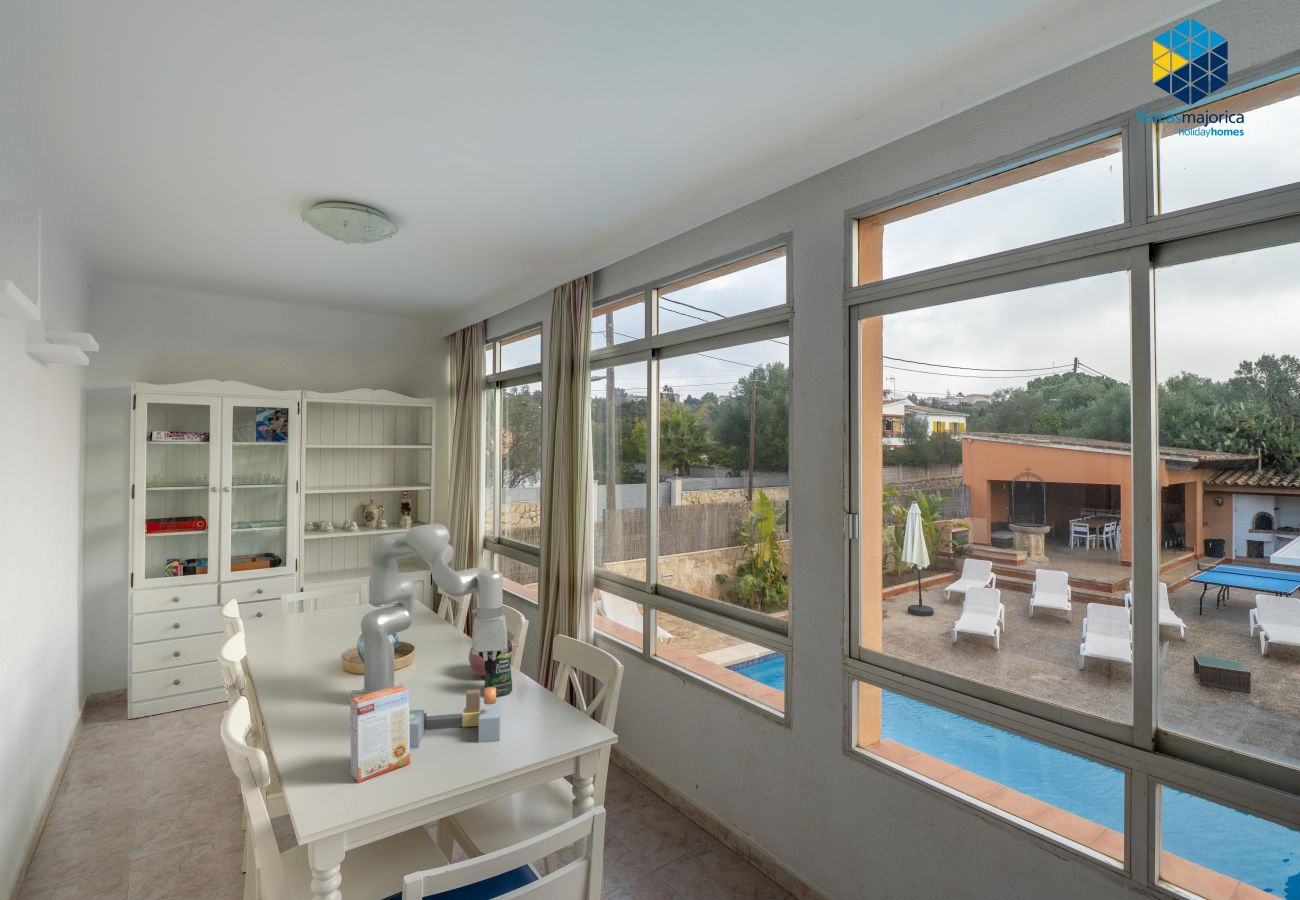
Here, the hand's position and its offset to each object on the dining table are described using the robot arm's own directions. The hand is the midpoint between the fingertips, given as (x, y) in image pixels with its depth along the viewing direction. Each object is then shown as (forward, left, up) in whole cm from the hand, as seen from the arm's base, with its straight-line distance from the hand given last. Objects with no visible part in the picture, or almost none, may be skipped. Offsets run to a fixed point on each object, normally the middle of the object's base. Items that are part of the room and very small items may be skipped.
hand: (490, 672), depth 189 cm
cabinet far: (0, +1, -19) cm, 19 cm away
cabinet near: (-24, +1, -19) cm, 30 cm away
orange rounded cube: (0, 0, -9) cm, 9 cm away
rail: (-11, +9, -19) cm, 24 cm away
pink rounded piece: (-1, +52, -20) cm, 56 cm away
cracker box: (-28, -15, -20) cm, 37 cm away
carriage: (-6, +9, -19) cm, 22 cm away
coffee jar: (+1, +33, -20) cm, 38 cm away
